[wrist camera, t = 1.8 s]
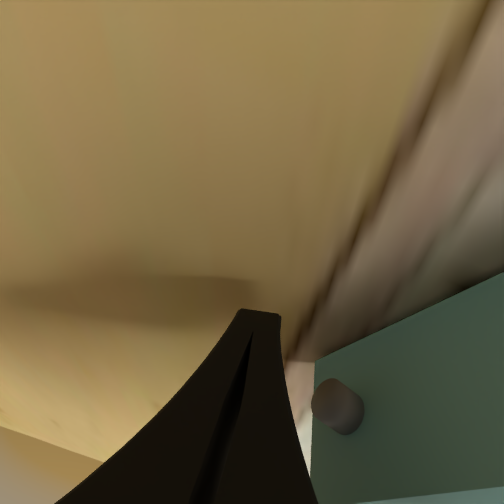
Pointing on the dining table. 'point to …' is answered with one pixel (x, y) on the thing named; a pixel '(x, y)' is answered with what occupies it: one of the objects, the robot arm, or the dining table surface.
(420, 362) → the teal door
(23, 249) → the dining table surface
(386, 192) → the dining table surface
